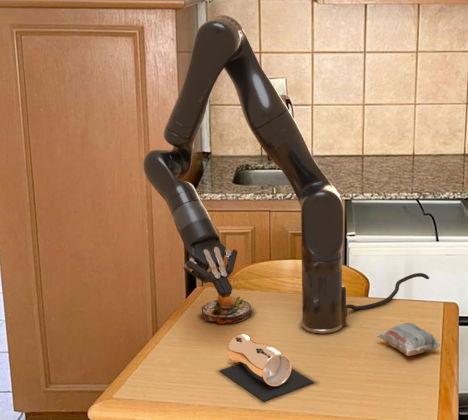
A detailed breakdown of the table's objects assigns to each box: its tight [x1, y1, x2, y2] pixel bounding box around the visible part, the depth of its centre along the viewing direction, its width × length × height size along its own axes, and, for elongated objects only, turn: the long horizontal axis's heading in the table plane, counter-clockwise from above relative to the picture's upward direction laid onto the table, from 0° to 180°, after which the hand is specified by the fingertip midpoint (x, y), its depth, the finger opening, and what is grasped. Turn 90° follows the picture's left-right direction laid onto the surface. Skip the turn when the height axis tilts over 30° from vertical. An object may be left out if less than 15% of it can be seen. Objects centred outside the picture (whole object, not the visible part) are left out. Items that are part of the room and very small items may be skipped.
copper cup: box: [227, 333, 293, 387], centre depth 163 cm, size 7×7×15 cm
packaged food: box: [376, 322, 441, 357], centre depth 174 cm, size 9×12×5 cm
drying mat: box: [219, 363, 315, 403], centre depth 163 cm, size 16×12×1 cm
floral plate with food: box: [201, 292, 253, 324], centre depth 193 cm, size 12×12×8 cm
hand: (227, 295), depth 170 cm, fingers closed
